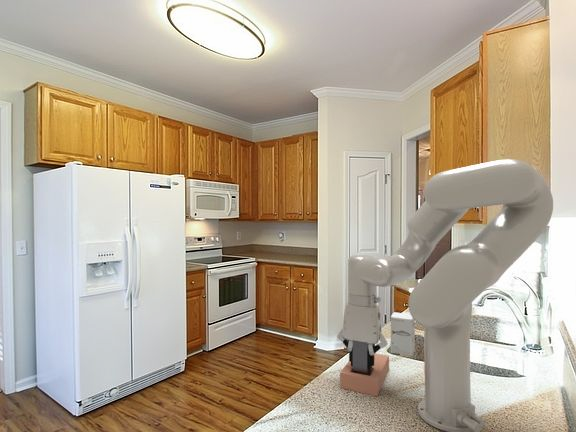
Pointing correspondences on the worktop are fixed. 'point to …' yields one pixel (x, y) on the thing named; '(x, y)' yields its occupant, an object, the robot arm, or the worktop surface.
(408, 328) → the supplement box
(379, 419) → the worktop surface
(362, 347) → the square peg
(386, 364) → the bore block
